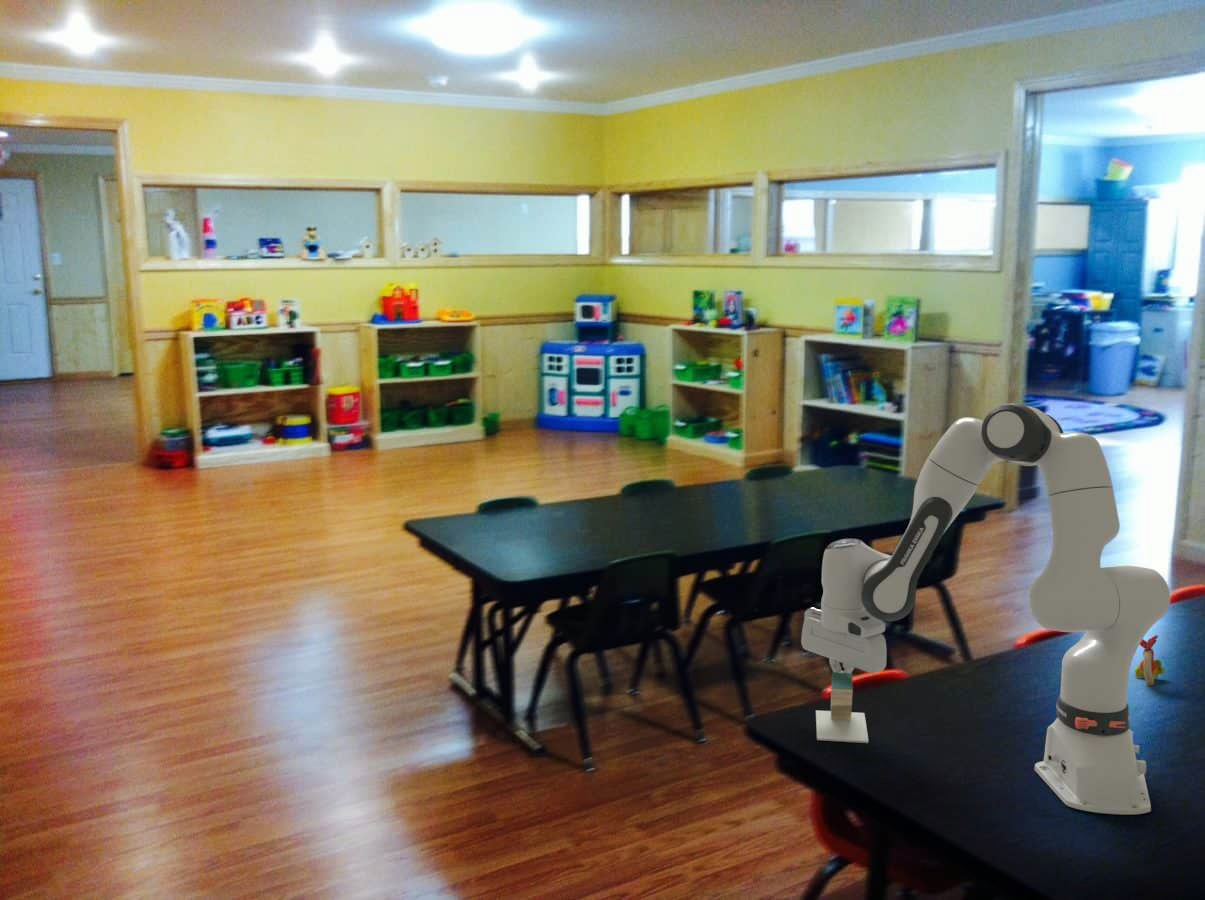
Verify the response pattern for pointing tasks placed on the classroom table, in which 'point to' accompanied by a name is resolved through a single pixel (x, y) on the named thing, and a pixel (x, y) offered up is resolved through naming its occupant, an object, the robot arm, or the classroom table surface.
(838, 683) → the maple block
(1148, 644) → the bird rattle
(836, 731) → the grey mat
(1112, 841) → the classroom table surface
